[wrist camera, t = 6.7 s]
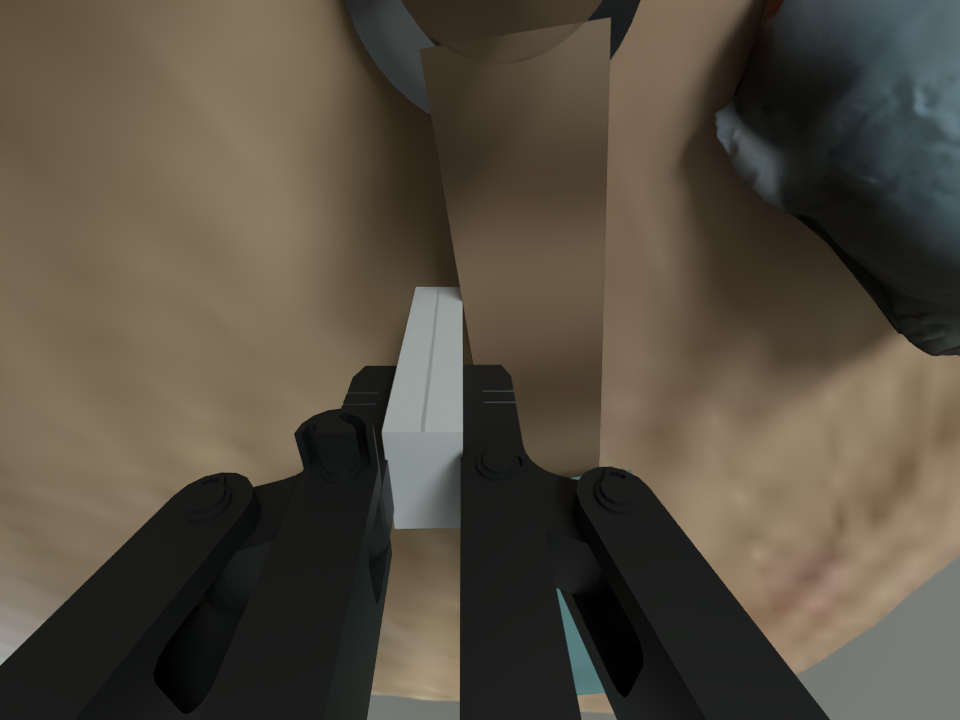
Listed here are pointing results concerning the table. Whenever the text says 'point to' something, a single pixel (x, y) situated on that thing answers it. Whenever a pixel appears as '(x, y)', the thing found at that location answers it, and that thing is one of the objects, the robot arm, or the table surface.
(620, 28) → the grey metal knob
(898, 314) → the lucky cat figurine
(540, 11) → the walnut link
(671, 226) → the table surface
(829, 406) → the table surface
